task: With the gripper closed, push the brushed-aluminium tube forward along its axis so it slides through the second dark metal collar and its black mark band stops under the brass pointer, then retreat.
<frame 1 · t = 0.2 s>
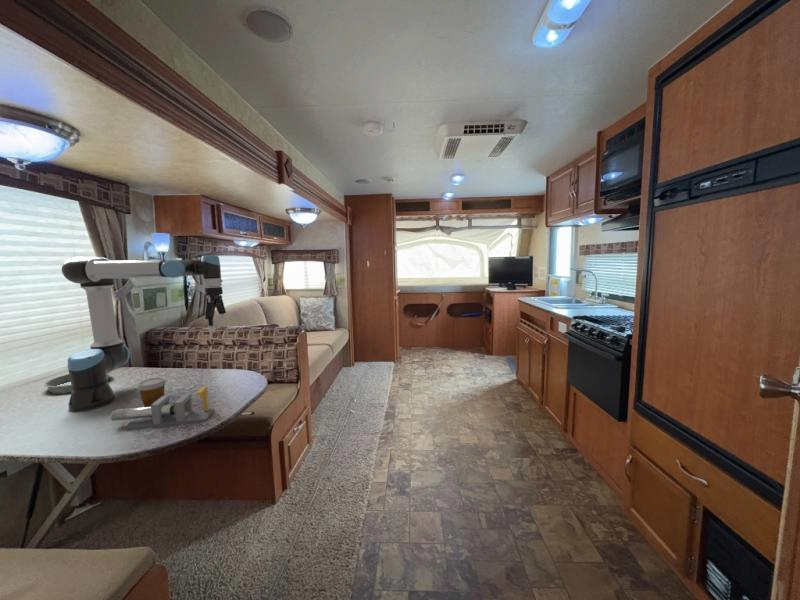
hand: (217, 329, 162), 28 cm above the table, fingers open, 13 cm apart
cake pan: (80, 385, 166), on the table
aluminium tube: (147, 412, 125), point 4 cm above the table, slide at 0.0 cm
disposable coffee cup: (154, 409, 138), on the table
collar bench: (171, 420, 128), on the table
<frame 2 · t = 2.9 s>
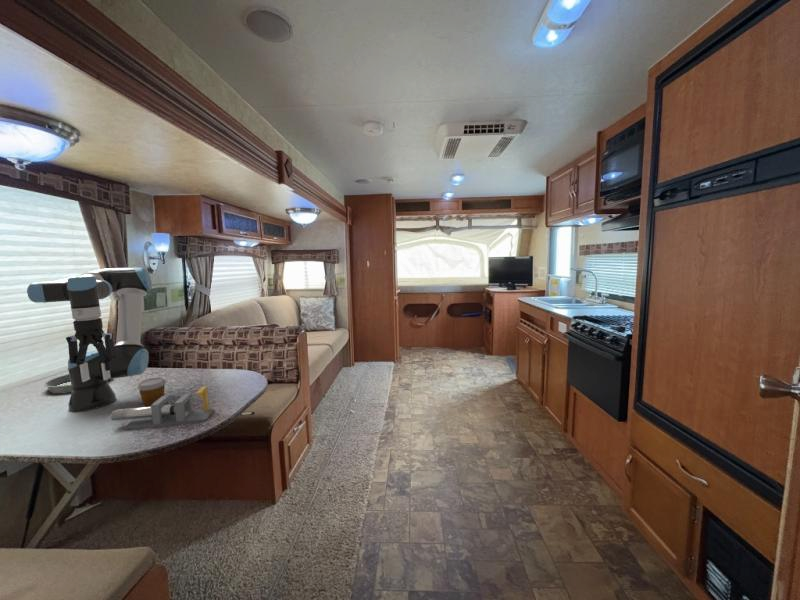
hand: (96, 379, 121), 19 cm above the table, fingers open, 6 cm apart
nothing on the table moved.
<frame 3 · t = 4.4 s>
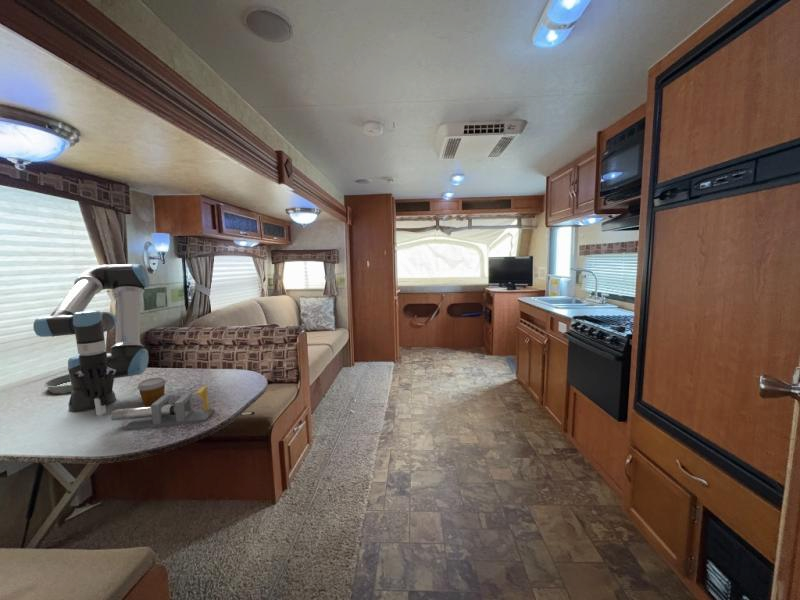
hand: (101, 413, 122), 6 cm above the table, fingers closed
nothing on the table moved.
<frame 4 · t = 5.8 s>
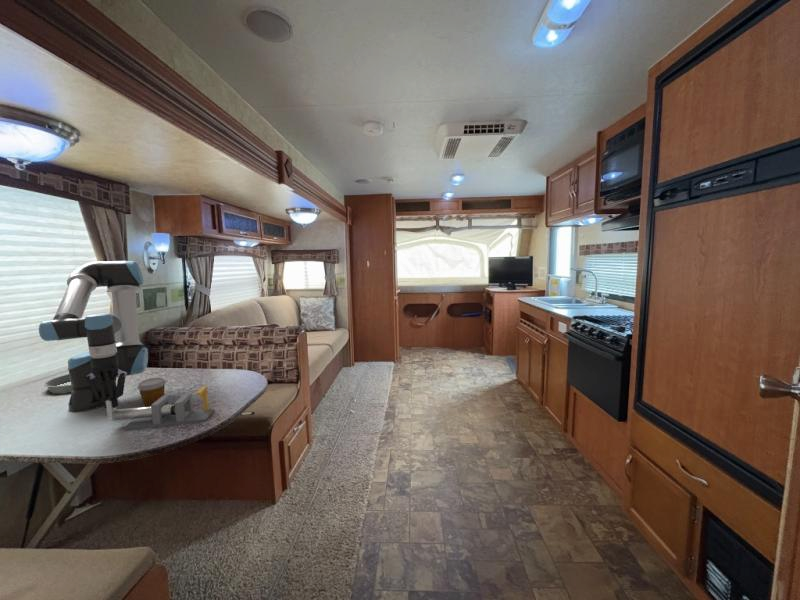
hand: (112, 415, 123), 4 cm above the table, fingers closed
aluminium tube: (147, 411, 125), point 4 cm above the table, slide at 0.3 cm, touching gripper
everything else where it was.
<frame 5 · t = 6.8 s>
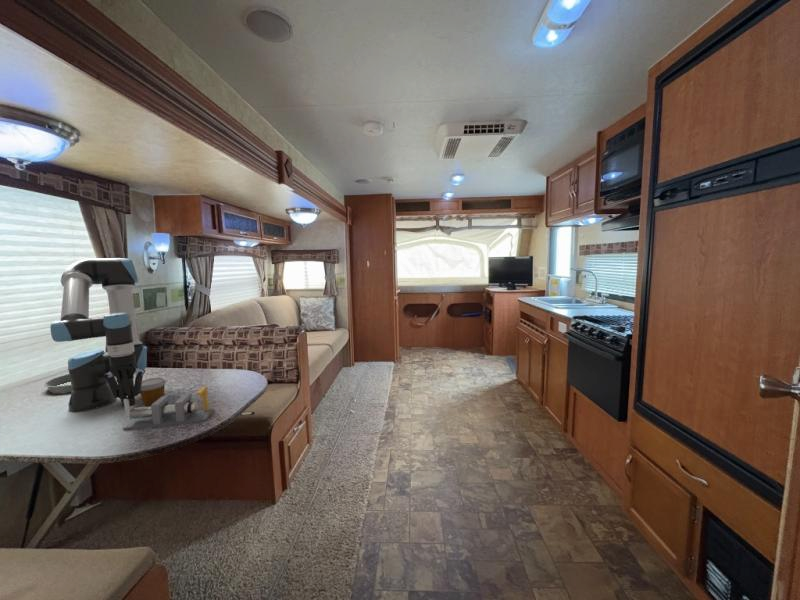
hand: (130, 413, 124), 4 cm above the table, fingers closed
aluminium tube: (164, 410, 127), point 4 cm above the table, slide at 6.1 cm, touching gripper
everything else where it was.
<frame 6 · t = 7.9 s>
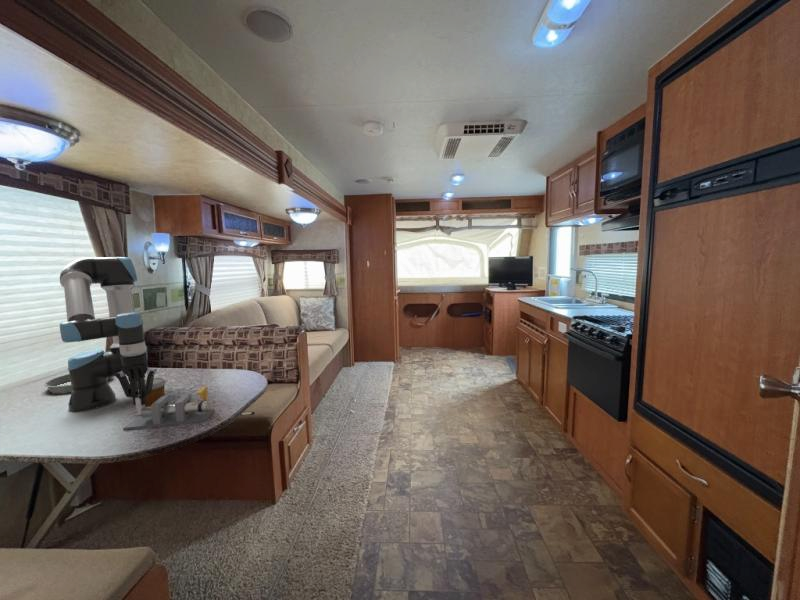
hand: (141, 412, 125), 4 cm above the table, fingers closed
aluminium tube: (175, 409, 127), point 4 cm above the table, slide at 9.9 cm, touching gripper
everything else where it was.
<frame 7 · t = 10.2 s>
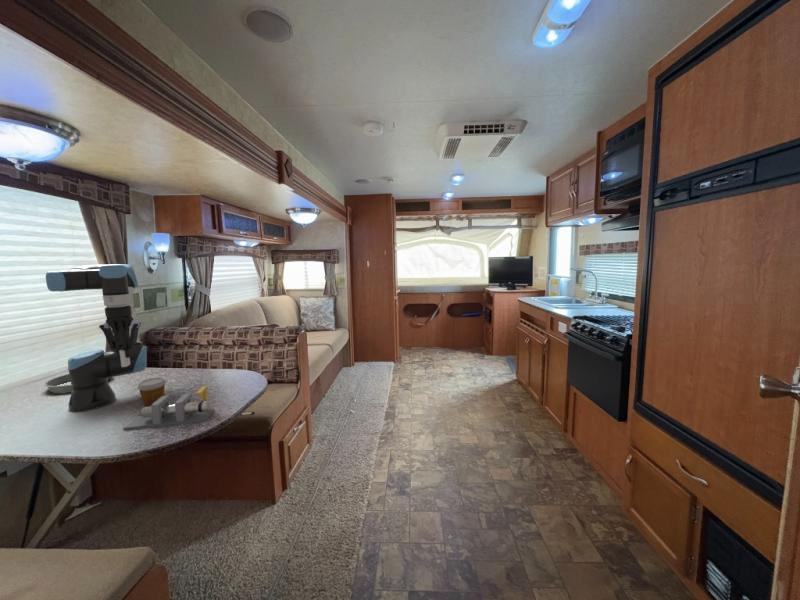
hand: (126, 365, 125), 22 cm above the table, fingers closed
aluminium tube: (175, 409, 127), point 4 cm above the table, slide at 9.9 cm
everything else where it was.
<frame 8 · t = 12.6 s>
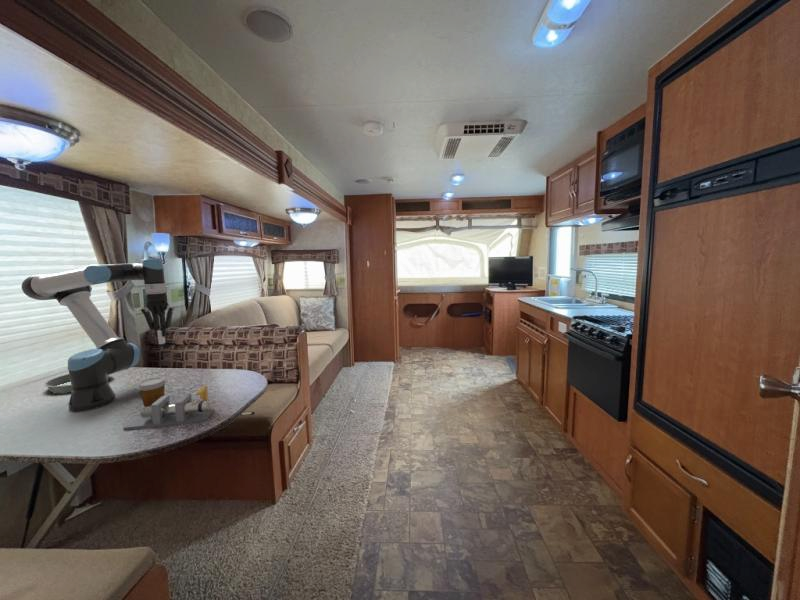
hand: (162, 343, 150), 24 cm above the table, fingers closed
nothing on the table moved.
at the end: aluminium tube slide at 9.9 cm; aluminium tube touching nothing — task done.
